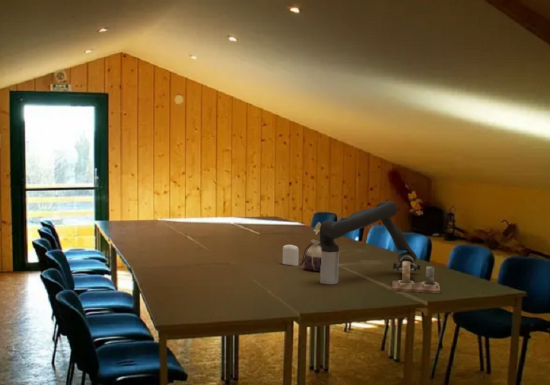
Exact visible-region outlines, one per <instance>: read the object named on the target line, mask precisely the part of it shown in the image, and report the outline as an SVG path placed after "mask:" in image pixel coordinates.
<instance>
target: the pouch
mask: <svg viewBox="0 0 550 385" xmlns="http://www.w3.org/2000/svg"><path fill="white" fill-rule="evenodd" d="M310 241H311V243H310V244H308V245H307V247H306V248H305V249H304V251H303V255H302V260H301V262H300V263H299V264H298V266H300V267H302V266H303V270H307V271H314V272H319V273H320V269H321V251H322V249H321V245H320V240H316V239H315V238H313V239H311V240H310Z"/></svg>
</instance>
